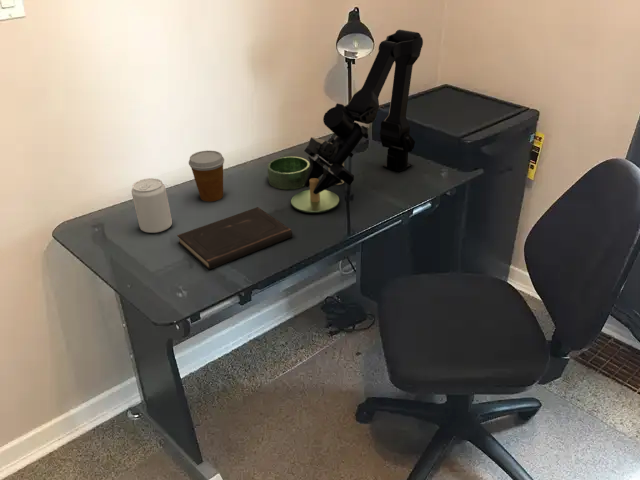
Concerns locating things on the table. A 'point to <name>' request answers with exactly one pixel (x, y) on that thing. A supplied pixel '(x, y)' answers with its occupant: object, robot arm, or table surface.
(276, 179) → the tin
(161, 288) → the table surface
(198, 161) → the disposable coffee cup
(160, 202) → the beverage can
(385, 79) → the robot arm
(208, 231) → the hardcover book
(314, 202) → the lid
